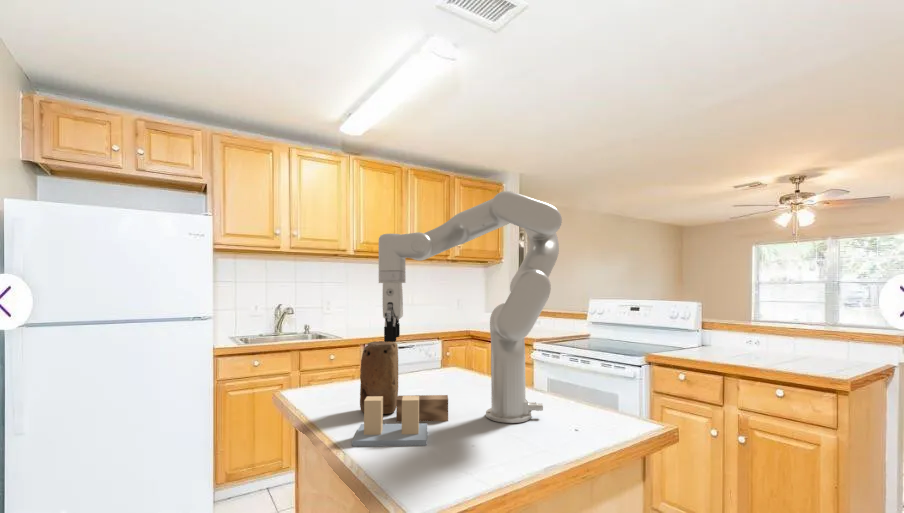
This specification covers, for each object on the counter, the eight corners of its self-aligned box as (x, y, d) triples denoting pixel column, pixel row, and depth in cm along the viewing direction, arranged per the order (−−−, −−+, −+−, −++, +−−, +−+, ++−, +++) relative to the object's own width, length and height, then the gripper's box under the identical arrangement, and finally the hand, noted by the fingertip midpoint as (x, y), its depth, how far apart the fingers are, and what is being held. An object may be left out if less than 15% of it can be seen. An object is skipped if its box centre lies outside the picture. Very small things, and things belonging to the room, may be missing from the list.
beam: (447, 416, 125) (447, 395, 125) (448, 421, 120) (448, 399, 121) (397, 417, 124) (397, 395, 125) (396, 422, 120) (396, 399, 120)
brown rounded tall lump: (399, 408, 132) (400, 341, 133) (393, 416, 125) (394, 344, 126) (364, 407, 133) (365, 340, 134) (356, 415, 126) (357, 343, 127)
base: (427, 428, 114) (427, 391, 115) (426, 445, 102) (426, 404, 103) (361, 428, 114) (361, 392, 114) (352, 446, 102) (352, 405, 102)
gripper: (403, 277, 116) (403, 343, 115) (407, 278, 133) (407, 335, 132) (374, 277, 116) (374, 343, 115) (382, 278, 133) (382, 335, 132)
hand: (392, 339), depth 124 cm, fingers open, 9 cm apart
